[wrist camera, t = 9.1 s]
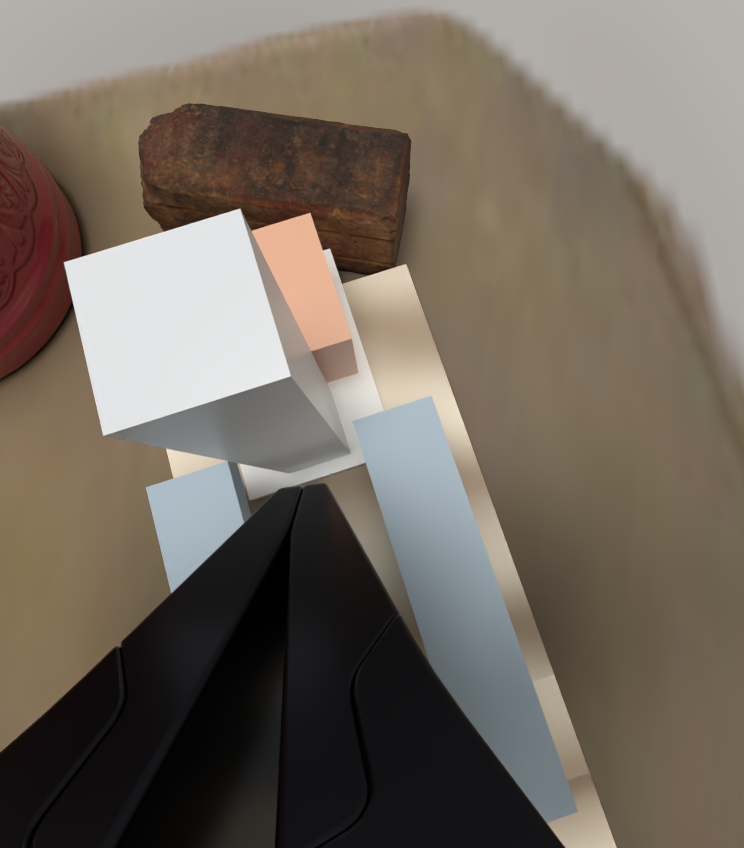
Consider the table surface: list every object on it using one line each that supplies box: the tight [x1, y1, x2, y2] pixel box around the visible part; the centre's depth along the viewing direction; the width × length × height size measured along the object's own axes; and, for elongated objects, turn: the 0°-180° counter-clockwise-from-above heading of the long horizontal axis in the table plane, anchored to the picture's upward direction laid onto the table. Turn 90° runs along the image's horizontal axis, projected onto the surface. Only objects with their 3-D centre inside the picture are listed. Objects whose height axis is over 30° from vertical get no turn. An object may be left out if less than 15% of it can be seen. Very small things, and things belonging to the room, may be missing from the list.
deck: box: [166, 264, 617, 848], centre depth 18 cm, size 27×12×1 cm, turn 18°
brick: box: [138, 104, 411, 275], centre depth 19 cm, size 11×4×5 cm, turn 79°
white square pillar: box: [64, 209, 384, 500], centre depth 12 cm, size 9×6×12 cm, turn 18°
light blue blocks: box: [146, 396, 578, 823], centre depth 14 cm, size 10×8×6 cm
